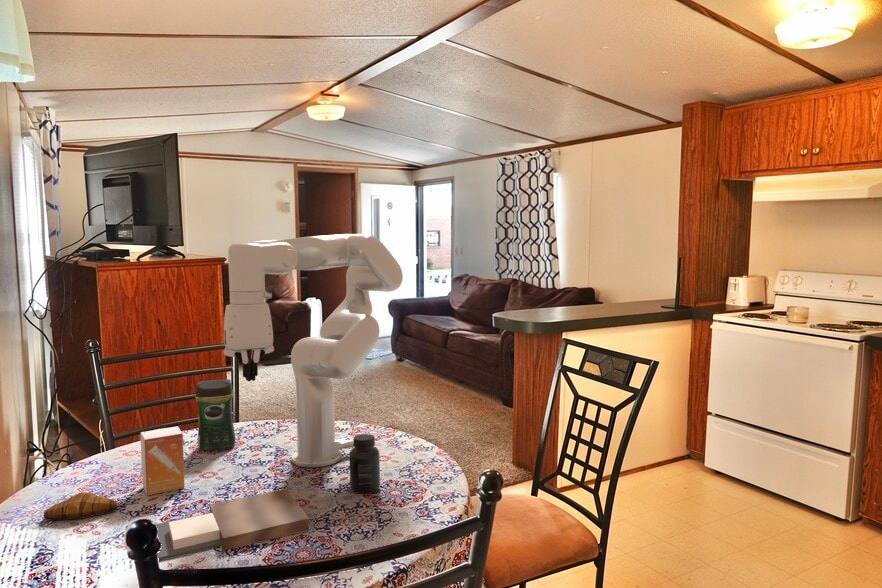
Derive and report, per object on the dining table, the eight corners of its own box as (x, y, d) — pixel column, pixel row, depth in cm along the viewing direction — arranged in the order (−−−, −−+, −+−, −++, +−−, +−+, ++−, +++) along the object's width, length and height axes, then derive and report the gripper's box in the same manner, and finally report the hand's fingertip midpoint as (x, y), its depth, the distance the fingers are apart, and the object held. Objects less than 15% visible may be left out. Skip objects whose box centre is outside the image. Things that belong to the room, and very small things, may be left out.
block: (212, 521, 121) (212, 512, 121) (219, 538, 114) (219, 529, 114) (169, 531, 117) (168, 522, 117) (173, 549, 110) (173, 540, 110)
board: (287, 499, 133) (287, 488, 132) (309, 529, 119) (308, 518, 118) (209, 515, 125) (209, 504, 125) (223, 550, 111) (223, 538, 111)
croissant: (121, 504, 131) (120, 482, 130) (114, 518, 124) (113, 495, 124) (49, 512, 127) (47, 489, 126) (38, 527, 120) (36, 503, 120)
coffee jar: (236, 440, 170) (233, 375, 168) (234, 450, 163) (232, 382, 161) (199, 444, 168) (196, 378, 166) (196, 453, 160) (193, 384, 158)
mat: (215, 514, 125) (214, 511, 125) (227, 544, 113) (227, 541, 113) (150, 528, 119) (150, 525, 119) (156, 561, 107) (156, 558, 107)
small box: (146, 496, 134) (143, 439, 133) (142, 486, 139) (139, 431, 138) (185, 488, 138) (183, 432, 137) (180, 479, 144) (177, 425, 142)
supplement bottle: (385, 485, 140) (385, 434, 139) (370, 496, 134) (369, 444, 133) (360, 480, 143) (359, 430, 142) (343, 491, 137) (343, 439, 135)
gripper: (277, 295, 142) (279, 372, 143) (209, 299, 134) (212, 380, 136) (285, 298, 135) (287, 379, 137) (215, 302, 128) (218, 387, 130)
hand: (250, 379), depth 136 cm, fingers closed
